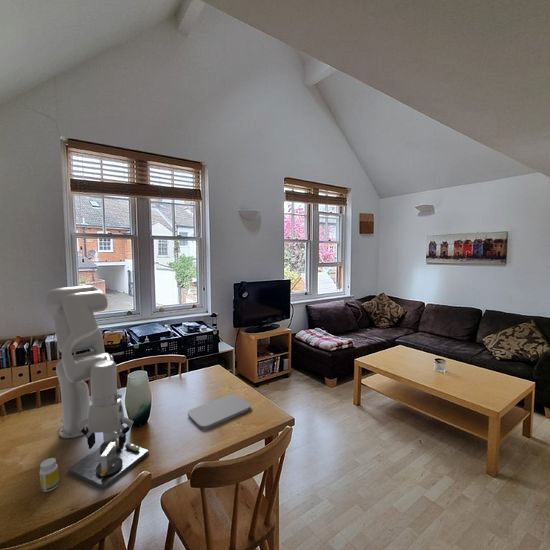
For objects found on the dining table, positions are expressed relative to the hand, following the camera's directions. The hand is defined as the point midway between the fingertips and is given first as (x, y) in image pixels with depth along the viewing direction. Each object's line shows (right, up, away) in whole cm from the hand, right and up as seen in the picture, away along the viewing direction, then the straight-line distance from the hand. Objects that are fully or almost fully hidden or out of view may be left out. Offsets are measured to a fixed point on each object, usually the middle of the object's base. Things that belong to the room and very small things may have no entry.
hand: (107, 445), depth 103 cm
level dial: (+1, -8, 0) cm, 8 cm away
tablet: (+31, -6, +37) cm, 49 cm away
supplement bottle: (-15, -10, -6) cm, 19 cm away
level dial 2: (-4, -7, +11) cm, 14 cm away
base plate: (-2, -9, +5) cm, 10 cm away
